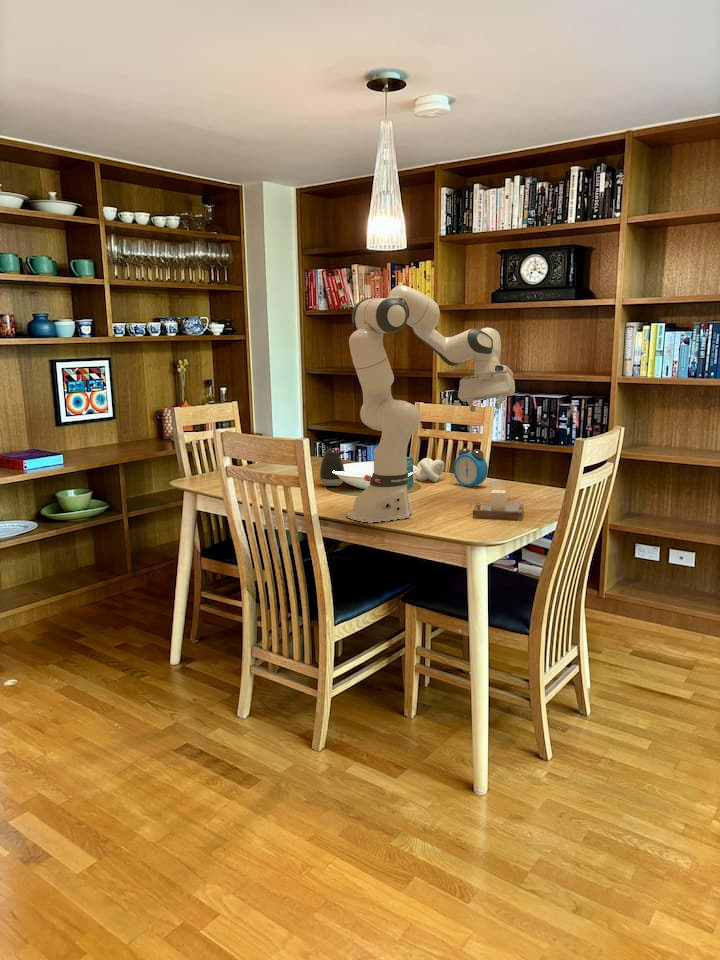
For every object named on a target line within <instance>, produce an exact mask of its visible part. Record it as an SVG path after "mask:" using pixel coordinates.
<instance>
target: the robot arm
mask: <svg viewBox="0 0 720 960" xmlns="http://www.w3.org/2000/svg"><path fill="white" fill-rule="evenodd" d="M440 312H441V311H440V307H439V305H438V303H436V302H435V301H434V299H432V297H429V296H428V295H426V294H424V293H423V292H422V291H419V290H417V289H414V288H413V287H410V286H408V285H403V284H398V285H397V286H395V287H393V288H391V290H390V291H389V293H388V295H387V297H386V298H385V297H373V298H366V299H365V298H364V299H362V300H360V301H359V302H357V303H356V304H355V305H354V306H353V309H352V312H351V323H352V330H353V332H352V333H351V334H350V336H349V339H348V344H349V351H350V355H351V360H352V363H353V366H354V369H355V372H356V374H357V375H356V376H357V378H358V381H359V383H360V386H361V389H362V399H363V400H362V401H363V403H362V405H361V407H360V412H359V417H360V420H361V422H362V423H363V424H364V425H365V426H366V427H368V428H370V429H372V430H375V431H380V432H381V437H380V440H379V443H378V445H377V446H376V447H375V448H374V449H373V473H372V475H368V474H365V475H364V477H363V480H364V481H365V482H369V485H368V486H367V487H366V488H364V490H363V491H362V492H361V493H359V495H358V496H356V497H355V499H354V502H353V510H352V511H351V512H347V513H346V517H347V516H348V517H350V518H352V519H354V520H357V521H361V522H360V523H362V522H368V523H367V524H374V523H373V522H378V523H382V522H381V521H385V522H391V521H390V520H393V521H398V520H397V519H400V520H406V519H405V518H408V519H410V518H409V517H410V516H409V515H410V514H411V515H412V514H413V513H412V509H411V505H410V501H409V492H408V488H407V484H408V473H407V457H408V456H407V454H408V446H409V443H410V439H411V437H412V435H413V433H414V432H415V431H416V430H417V429H418V427H419V426H420V423H421V412H420V410H419V408H418V407H417V406H416V405H415V404H412V403H410V402H408V401H407V400H400V399H394V398H393V395H392V384H393V383H394V381H395V375H394V372H393V369H392V367H391V364H390V361H389V358H388V355H387V351H386V349H385V347H384V339H383V338H384V334H392V333H393V334H394V333H397V332H399V331H400V330H402V329H403V328H404V327H405V325H408V326H409V327H411V330H412V333H413V334H414V335H415V336H416V338H418V339H419V340H420V341H421V342H422V343H424V344H425V345H426V346H427V347H429V348H430V349H431V350H432V351H434V352H435V353H436V354H437V355H438V356H439V357H440V359H441V360H442V361H443V362H444V363H446V364H447V365H449V367H450V366H451V367H456V366H459V365H461V364H462V363H463V362H465V361H466V362H467V361H469V360H471V359H472V360H473V359H474V360H475V361H474V374H470V375H465V376H463V378H461V379H460V380H459V388H458V392H457V393H458V394H457V398H458V399H459V400H460V401H461V402H464V403H466V402H467V404H468V406H469V411H470V413H473V412H476V408H477V407H476V406H475V405H473V404H474V401H482V400H488V399H489V400H490V399H497V398H498V399H497V402H495V404H494V408H495V409H496V410H498V409H499V410H500V409H501V408H502V404H503V403H504V401H505V397H512V396H514V394H515V392H516V386H515V385H516V384H515V383H516V382H515V379H514V378H513V377H514V372H513V371H512V369H510V368H509V367H508V366H507V365H503V364H501V362H500V357H501V356H502V354H501V353H502V341H501V340H502V339H501V335H500V333H499V331H498V330H496V329H495V328H492V327H483V328H481V329H479V328H477V327H476V328H475V327H472V328H470V329H467V330H464V331H462V332H460V333H459V334H456V335H454V336H447V337H446V336H443V334H441V333H440V332H439V331H437V330H436V327H437V326H438V324H439V321H440V316H441V315H440V314H441V313H440ZM348 517H347V518H348ZM354 520H353V521H354ZM357 521H356V522H357Z"/></svg>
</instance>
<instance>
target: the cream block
mask: <svg viewBox="0 0 720 960" xmlns="http://www.w3.org/2000/svg"><path fill="white" fill-rule="evenodd" d="M490 502H491V511H506V502H507V490H506V489H505V490H504V489H503V490H502V489H492V490H491V492H490Z"/></svg>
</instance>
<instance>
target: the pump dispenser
mask: <svg viewBox="0 0 720 960" xmlns="http://www.w3.org/2000/svg"><path fill="white" fill-rule="evenodd" d="M343 454H345V451H344V450H340V451H338V450H337V449H335V448H328V449H326V451H325V452H324V454H323V456H322V458H321V459H322V460H321V462H320V468H319V478H320V481H321V483H322V484H323V486H325V487H327V486H337V487H339V486H341V485H342V484H343V482H344V480H341V479H340V478H339V477H338V476H337V475H335V474H333V473H332V471H333V470H335V471H344V472H345V465H344V463H343V460H342V458H341V456H342V455H343Z"/></svg>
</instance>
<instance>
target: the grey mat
mask: <svg viewBox="0 0 720 960" xmlns="http://www.w3.org/2000/svg"><path fill="white" fill-rule="evenodd" d="M520 504H521V502H509V501H506V511H515V512H518V510H519V506H520ZM481 510H491V501H490V500H489V501H487V500H485V502H484V504H483V506H482V508H481Z"/></svg>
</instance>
